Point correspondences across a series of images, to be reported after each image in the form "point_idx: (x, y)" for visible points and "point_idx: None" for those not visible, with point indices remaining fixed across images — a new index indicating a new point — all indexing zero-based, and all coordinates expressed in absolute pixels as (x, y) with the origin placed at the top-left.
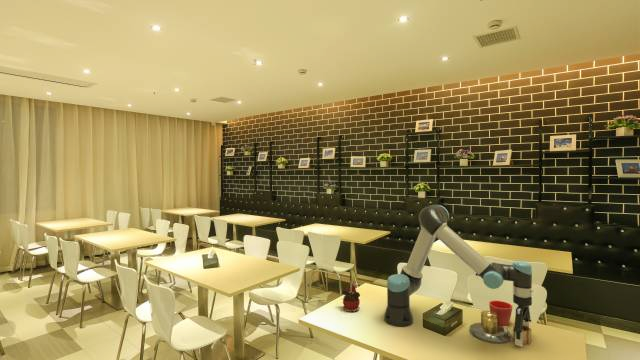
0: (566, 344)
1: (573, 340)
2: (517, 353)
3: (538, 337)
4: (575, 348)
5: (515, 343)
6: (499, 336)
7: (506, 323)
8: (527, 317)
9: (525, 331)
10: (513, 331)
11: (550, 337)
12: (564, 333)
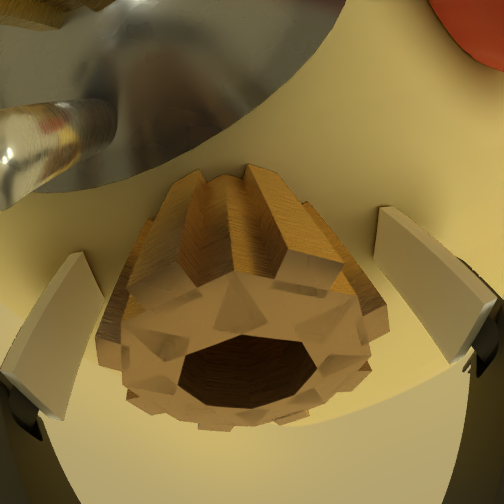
0: (367, 388)
1: (419, 375)
2: (10, 302)
3: (388, 302)
4: (345, 408)
5: (64, 264)
6: (19, 103)
7: (470, 43)
8: (462, 444)
9: (172, 409)
10: (162, 220)
11: (417, 332)
12: None
